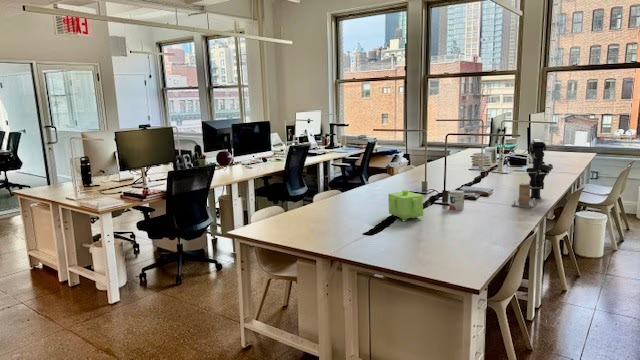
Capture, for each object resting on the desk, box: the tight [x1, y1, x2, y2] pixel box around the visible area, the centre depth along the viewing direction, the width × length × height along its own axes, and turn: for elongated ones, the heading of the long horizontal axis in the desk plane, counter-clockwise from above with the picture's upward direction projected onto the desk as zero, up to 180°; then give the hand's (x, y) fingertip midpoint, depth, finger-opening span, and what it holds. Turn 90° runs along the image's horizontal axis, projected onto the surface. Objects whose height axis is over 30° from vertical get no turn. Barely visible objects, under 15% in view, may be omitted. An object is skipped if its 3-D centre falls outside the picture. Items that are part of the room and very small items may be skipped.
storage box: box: [387, 189, 424, 221], centre depth 271 cm, size 25×23×17 cm
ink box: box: [448, 189, 465, 211], centre depth 286 cm, size 9×5×12 cm, turn 62°
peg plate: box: [511, 196, 538, 209], centre depth 287 cm, size 12×12×4 cm
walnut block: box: [518, 182, 531, 205], centre depth 286 cm, size 5×5×13 cm
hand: (537, 184), depth 289 cm, fingers open, 9 cm apart
